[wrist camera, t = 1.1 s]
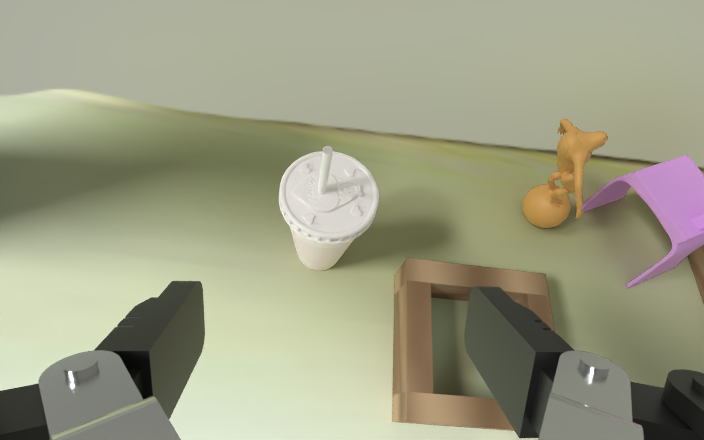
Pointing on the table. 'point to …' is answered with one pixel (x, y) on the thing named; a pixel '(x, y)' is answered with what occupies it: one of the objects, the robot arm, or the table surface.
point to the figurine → (563, 178)
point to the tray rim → (698, 267)
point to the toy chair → (664, 206)
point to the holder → (449, 341)
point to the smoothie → (327, 205)
